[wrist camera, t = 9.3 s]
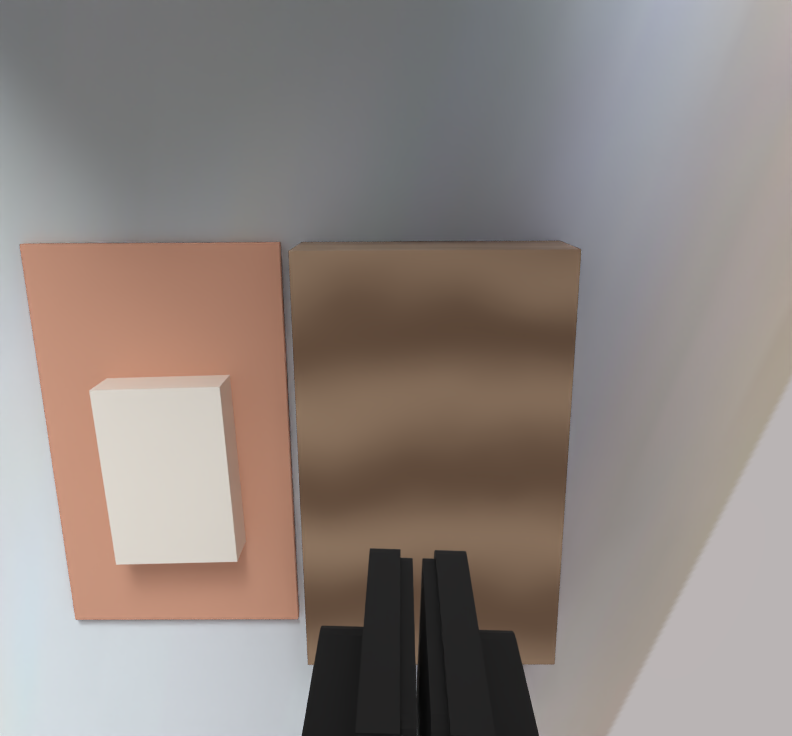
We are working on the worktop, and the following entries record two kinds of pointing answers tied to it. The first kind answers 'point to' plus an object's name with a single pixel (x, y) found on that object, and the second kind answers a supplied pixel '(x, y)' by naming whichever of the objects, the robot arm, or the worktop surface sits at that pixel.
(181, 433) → the ceramic tile
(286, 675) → the worktop surface
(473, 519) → the walnut block
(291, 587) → the rubber mat
